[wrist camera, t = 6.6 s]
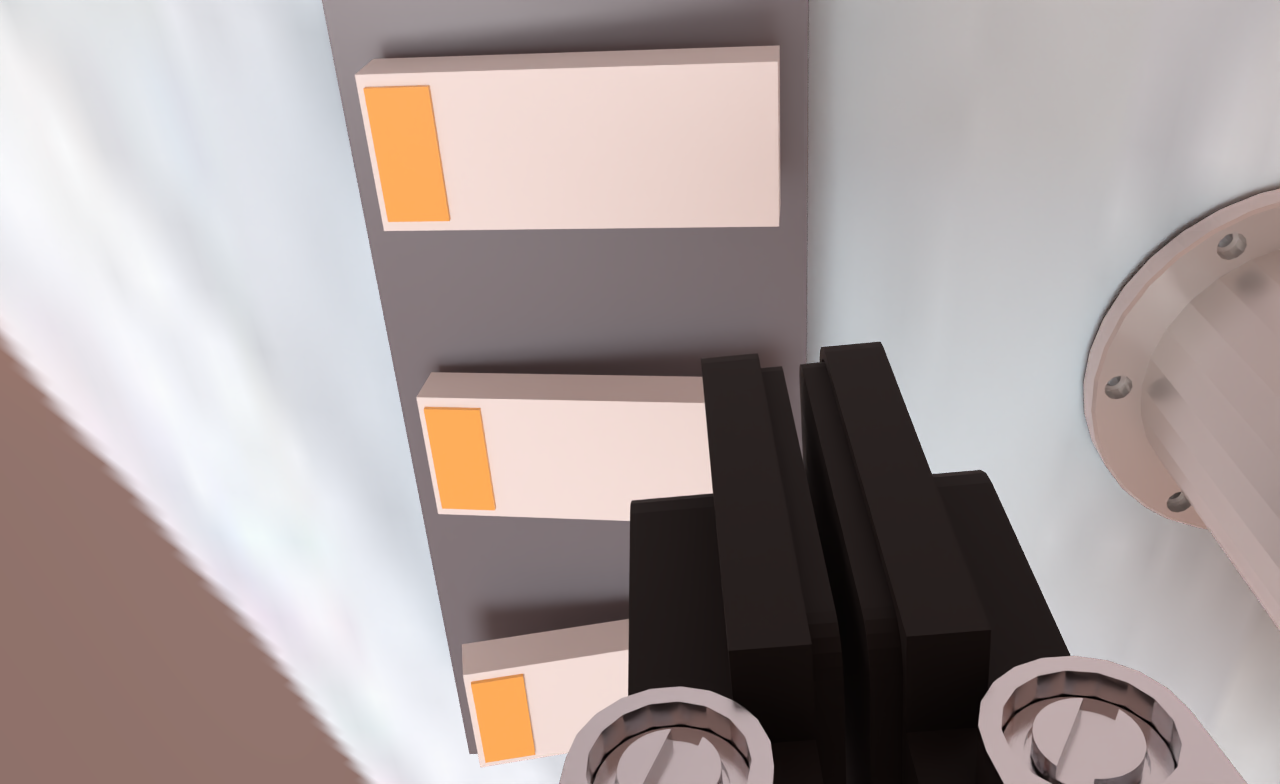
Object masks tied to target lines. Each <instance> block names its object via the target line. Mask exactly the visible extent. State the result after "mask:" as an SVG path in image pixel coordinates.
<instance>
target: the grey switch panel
mask: <svg viewBox="0 0 1280 784" xmlns="http://www.w3.org/2000/svg"><path fill="white" fill-rule="evenodd" d="M322 3H323V9H324V14H325V19H326V24H327V29H328V34H329V39H330V44H331V49H332V54H333V60H334V65H335V70H336V75H337V80H338V85H339V90H340V95H341V100H342V105H343V111H344V116H345V121H346V126H347V131H348V136H349V141H350V146H351V151H352V156H353V162H354V167H355V172H356V177H357V182H358V187H359V192H360V197H361V202H362V208H363V213H364V218H365V223H366V228H367V233H368V238H369V243H370V248H371V253H372V259H373V264H374V269H375V274H376V279H377V284H378V289H379V294H380V299H381V304H382V310H383V315H384V320H385V325H386V330H387V335H388V340H389V345H390V350H391V355H392V361H393V366H394V371H395V376H396V381H397V386H398V391H399V396H400V401H401V406H402V412H403V417H404V422H405V427H406V432H407V437H408V442H409V447H410V452H411V457H412V463H413V468H414V473H415V478H416V483H417V488H418V493H419V498H420V503H421V508H422V514H423V519H424V524H425V529H426V534H427V539H428V544H429V549H430V554H431V559H432V565H433V570H434V575H435V580H436V585H437V590H438V595H439V600H440V605H441V610H442V616H443V621H444V626H445V631H446V636H447V641H448V646H449V651H450V656H451V662H452V667H453V672H454V677H455V682H456V687H457V692H458V697H459V702H460V707H461V713H462V718H463V723H464V728H465V733H466V738H467V743H468V748H469V753H470V754H478V752H477V747H476V742H475V736H474V731H473V726H472V721H471V715H470V710H469V705H468V700H467V695H466V689H465V684H464V679H463V664H462V644H468V643H474V642H481V641H487V640H494V639H500V638H507V637H514V636H520V635H527V634H533V633H540V632H546V631H553V630H559V629H566V628H572V627H579V626H585V625H592V624H598V623H605V622H611V621H618V620H624V619H629V558H630V521H617V520H589V519H562V518H534V517H507V516H479V515H452V514H438V510H437V505H436V500H435V494H434V489H433V484H432V478H431V473H430V468H429V462H428V457H427V452H426V446H425V441H424V436H423V430H422V425H421V420H420V414H419V409H418V404H417V398H416V397H417V395H418V394H419V392H420V390H421V389H422V387H423V385H424V384H425V382H426V380H427V379H428V377H429V375H430V373H431V372H446V373H507V374H568V375H628V376H689V377H702V368H701V358H710V357H721V356H732V355H743V354H753V353H758V356H759V361H760V366H761V368H766V367H777V366H782V368H783V372H784V376H785V381H786V385H787V390H788V394H789V399H790V404H791V408H792V413H793V417H794V422H795V427H796V431H797V436H798V440H799V445H800V450H801V454H802V459H803V451H802V428H801V405H800V382H799V367H800V364H806V337H807V178H808V18H809V0H322ZM777 45H780V219H779V227H693V228H606V229H519V230H431V231H384V228H383V223H382V217H381V212H380V207H379V201H378V196H377V191H376V186H375V180H374V175H373V170H372V164H371V159H370V154H369V148H368V143H367V138H366V132H365V127H364V122H363V116H362V111H361V106H360V101H359V95H358V90H357V85H356V79H355V74H356V73H357V72H359V71H360V70H361V69H362V68H363V67H364V66H366V65H367V64H368V63H369V62H370V61H371V60H373V59H384V58H414V57H444V56H474V55H505V54H535V53H565V52H595V51H626V50H656V49H686V48H716V47H747V46H777Z"/></svg>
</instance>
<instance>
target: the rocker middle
mask: <svg viewBox="0 0 1280 784" xmlns="http://www.w3.org/2000/svg"><path fill="white" fill-rule="evenodd" d="M416 398H417V404H418V409H419V414H420V420H421V425H422V430H423V436H424V441H425V446H426V452H427V457H428V462H429V468H430V473H431V478H432V484H433V489H434V494H435V500H436V505H437V510H438V514H452V515H479V516H507V517H534V518H562V519H589V520H617V521H630V504H631V501H632V500H642V499H653V498H665V497H676V496H688V495H699V494H711V493H713V489H712V478H711V467H710V456H709V445H708V434H707V423H706V412H705V401H704V390H703V379H702V377H689V376H628V375H568V374H507V373H446V372H431V373H430V375H429V377H428V379H427V380H426V382H425V384H424V385H423V387H422V389H421V390H420V392H419V394H418V395H417V397H416Z"/></svg>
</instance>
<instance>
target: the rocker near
mask: <svg viewBox="0 0 1280 784" xmlns="http://www.w3.org/2000/svg"><path fill="white" fill-rule="evenodd" d="M355 79H356V85H357V90H358V95H359V101H360V106H361V111H362V116H363V122H364V127H365V132H366V138H367V143H368V148H369V154H370V159H371V164H372V170H373V175H374V180H375V186H376V191H377V196H378V201H379V207H380V212H381V217H382V223H383V228H384V231H431V230H519V229H606V228H693V227H779V219H780V45H777V46H747V47H716V48H686V49H656V50H626V51H595V52H565V53H535V54H505V55H474V56H444V57H414V58H384V59H373V60H371V61H370V62H369V63H368V64H367V65H366V66H364V67H363V68H362V69H361V70H360V71H359V72H357V73H356V74H355Z"/></svg>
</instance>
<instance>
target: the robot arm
mask: <svg viewBox="0 0 1280 784" xmlns="http://www.w3.org/2000/svg"><path fill="white" fill-rule="evenodd" d="M1222 238H1223V239H1222ZM1221 239H1222V240H1221ZM701 368H702V379H703V390H704V401H705V412H706V423H707V434H708V445H709V456H710V467H711V478H712V489H713V493H711V494H699V495H688V496H676V497H665V498H653V499H642V500H632V501H631V504H630V558H629V649H628V696H627V697H624V698H621V699H619V700H618V701H616V702H614V703H613V704H611V705H609V706H608V707H606V708H604V709H603V710H601V711H600V712H598V713H596V714H595V715H594V716H593V717H592V718H591V719H590V721H589V722H588V723H587V724H586V725H585V726H584V727H583V728H582V729H581V730H580V731H579V732H578V733H577V735H576V737H575V739H574V741H573V743H572V746H571V748H570V750H569V752H568V754H567V756H566V759H565V763H564V766H563V770H562V774H561V778H560V782H559V784H1247V782H1246V781H1245V780H1244V779H1243V777H1242V776H1241V775H1240V773H1239V772H1238V771H1237V770H1236V768H1235V767H1234V766H1233V764H1232V763H1231V762H1230V760H1229V759H1228V758H1227V757H1226V755H1225V754H1224V753H1223V751H1222V750H1221V749H1220V747H1219V746H1218V745H1217V744H1216V742H1215V741H1214V740H1213V738H1212V737H1211V736H1210V735H1209V733H1208V732H1207V731H1206V729H1205V728H1204V727H1203V725H1202V724H1201V723H1200V722H1199V720H1198V719H1197V718H1196V716H1195V715H1194V714H1193V712H1192V711H1191V710H1190V709H1189V708H1188V707H1187V706H1186V705H1185V704H1184V703H1183V702H1182V701H1181V700H1180V699H1179V698H1178V697H1177V696H1176V695H1175V694H1174V693H1173V692H1172V691H1170V690H1169V689H1168V688H1167V687H1165V686H1163V685H1162V684H1160V683H1158V682H1157V681H1155V680H1153V679H1152V678H1150V677H1148V676H1146V675H1145V674H1143V673H1141V672H1140V671H1137V670H1134V669H1131V668H1128V667H1125V666H1122V665H1119V664H1117V663H1114V662H1111V661H1108V660H1102V659H1094V658H1087V657H1080V656H1070V653H1069V651H1068V649H1067V647H1066V645H1065V642H1064V640H1063V638H1062V636H1061V634H1060V631H1059V629H1058V627H1057V625H1056V623H1055V620H1054V618H1053V616H1052V614H1051V612H1050V609H1049V607H1048V605H1047V603H1046V601H1045V599H1044V596H1043V594H1042V592H1041V590H1040V588H1039V585H1038V583H1037V581H1036V579H1035V577H1034V574H1033V572H1032V570H1031V568H1030V566H1029V563H1028V561H1027V559H1026V557H1025V555H1024V552H1023V550H1022V548H1021V546H1020V544H1019V541H1018V539H1017V537H1016V535H1015V533H1014V530H1013V528H1012V526H1011V524H1010V522H1009V519H1008V517H1007V515H1006V513H1005V511H1004V508H1003V506H1002V504H1001V502H1000V500H999V497H998V495H997V493H996V491H995V489H994V486H993V484H992V482H991V481H990V479H989V477H988V476H987V474H986V473H985V472H983V471H981V470H975V471H963V472H952V473H940V474H932V473H931V471H930V468H929V466H928V463H927V460H926V458H925V455H924V452H923V450H922V447H921V445H920V442H919V439H918V437H917V434H916V431H915V429H914V426H913V424H912V421H911V418H910V416H909V413H908V411H907V408H906V405H905V403H904V400H903V397H902V395H901V392H900V390H899V387H898V384H897V382H896V379H895V377H894V374H893V371H892V369H891V366H890V363H889V361H888V358H887V356H886V353H885V350H884V348H883V346H882V344H881V342H872V343H861V344H850V345H839V346H829V347H821V350H820V363H809V364H800V367H799V382H800V405H801V428H802V451H803V459H802V454H801V450H800V445H799V440H798V436H797V431H796V427H795V422H794V417H793V413H792V408H791V404H790V399H789V394H788V390H787V385H786V381H785V376H784V372H783V368H782V366H777V367H766V368H761V366H760V361H759V356H758V353H753V354H743V355H732V356H721V357H710V358H701ZM1084 414H1085V418H1086V422H1087V425H1088V429H1089V433H1090V436H1091V440H1092V442H1093V444H1094V446H1095V447H1096V449H1097V451H1098V453H1099V455H1100V456H1101V458H1102V460H1103V462H1104V464H1105V465H1106V467H1107V468H1108V470H1109V471H1110V472H1111V474H1112V475H1113V476H1114V478H1115V479H1116V480H1117V482H1118V483H1119V485H1120V486H1121V487H1122V489H1124V490H1125V491H1126V492H1127V493H1128V494H1130V495H1131V496H1132V497H1133V498H1135V499H1136V500H1137V501H1138V502H1139V503H1141V504H1142V505H1143V506H1144V507H1146V508H1148V509H1150V510H1152V511H1153V512H1155V513H1157V514H1159V515H1161V516H1163V517H1165V518H1167V519H1170V520H1173V521H1176V522H1180V523H1183V524H1187V525H1191V526H1194V527H1198V528H1202V529H1209V531H1210V532H1211V534H1212V535H1213V536H1214V538H1215V539H1216V541H1217V542H1218V544H1219V545H1220V546H1221V548H1222V549H1223V551H1224V552H1225V554H1226V555H1227V556H1228V558H1229V559H1230V561H1231V562H1232V564H1233V565H1234V566H1235V568H1236V569H1237V571H1238V572H1239V574H1240V575H1241V576H1242V578H1243V579H1244V581H1245V582H1246V583H1247V585H1248V586H1249V588H1250V589H1251V591H1252V592H1253V593H1254V595H1255V596H1256V598H1257V599H1258V601H1259V602H1260V603H1261V605H1262V606H1263V608H1264V609H1265V611H1266V612H1267V613H1268V615H1269V616H1270V618H1271V619H1272V620H1273V622H1274V623H1275V625H1276V626H1277V628H1278V629H1279V630H1280V189H1276V190H1272V191H1268V192H1264V193H1259V194H1257V195H1254V196H1252V197H1249V198H1247V199H1245V200H1242V201H1240V202H1237V203H1235V204H1232V205H1230V206H1227V207H1225V208H1222V209H1220V210H1218V211H1216V212H1215V213H1213V214H1211V215H1210V216H1208V217H1206V218H1205V219H1203V220H1201V221H1200V222H1198V223H1196V224H1195V225H1193V226H1191V227H1190V228H1188V229H1186V230H1184V231H1183V232H1182V233H1180V234H1179V235H1178V236H1177V237H1175V238H1174V239H1173V240H1172V241H1170V242H1169V243H1168V244H1167V245H1166V246H1164V247H1163V248H1162V249H1161V250H1159V251H1158V252H1157V253H1156V254H1155V255H1153V256H1152V257H1151V258H1150V259H1149V260H1148V261H1147V262H1146V263H1145V264H1144V266H1143V267H1142V268H1141V269H1140V270H1139V271H1138V272H1137V273H1136V274H1135V275H1134V277H1133V278H1132V279H1131V280H1130V281H1129V282H1128V283H1127V284H1126V285H1125V287H1124V288H1123V289H1122V291H1121V292H1120V294H1119V295H1118V297H1117V299H1116V300H1115V302H1114V303H1113V305H1112V306H1111V308H1110V309H1109V311H1108V313H1107V314H1106V316H1105V317H1104V319H1103V321H1102V323H1101V326H1100V328H1099V331H1098V333H1097V335H1096V338H1095V340H1094V343H1093V345H1092V347H1091V350H1090V353H1089V358H1088V363H1087V368H1086V373H1085V378H1084Z"/></svg>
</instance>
